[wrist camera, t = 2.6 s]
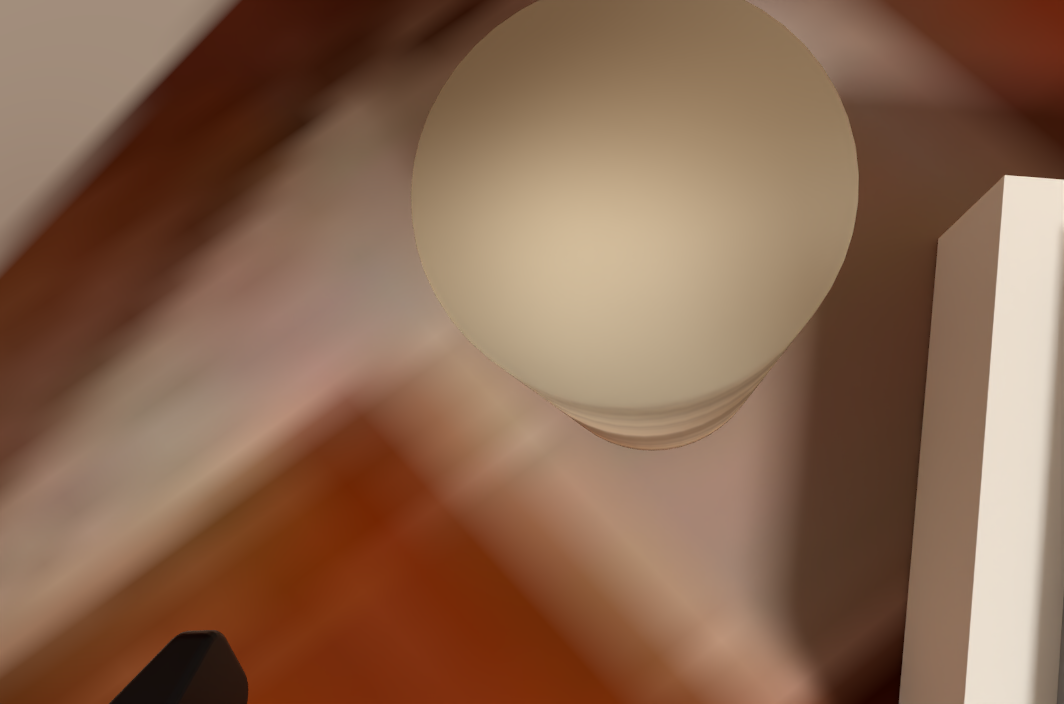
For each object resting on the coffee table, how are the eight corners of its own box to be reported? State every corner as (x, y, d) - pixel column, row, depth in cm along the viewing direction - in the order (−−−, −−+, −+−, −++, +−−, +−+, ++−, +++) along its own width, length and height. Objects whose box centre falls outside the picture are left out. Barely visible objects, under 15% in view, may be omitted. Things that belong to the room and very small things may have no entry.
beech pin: (750, 464, 20) (836, 433, 10) (528, 435, 21) (379, 375, 10) (774, 245, 21) (879, -13, 10) (558, 225, 22) (445, -34, 11)
